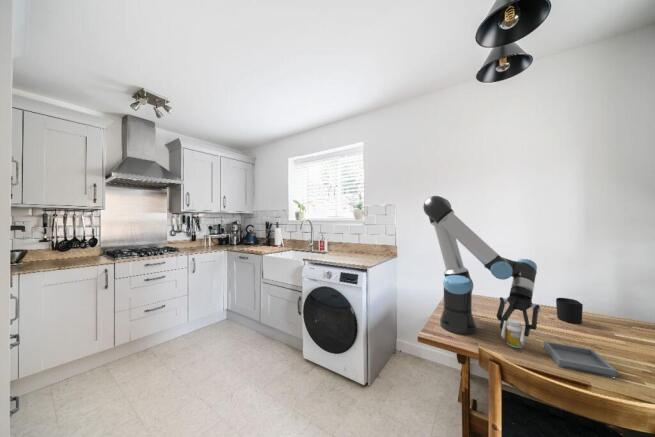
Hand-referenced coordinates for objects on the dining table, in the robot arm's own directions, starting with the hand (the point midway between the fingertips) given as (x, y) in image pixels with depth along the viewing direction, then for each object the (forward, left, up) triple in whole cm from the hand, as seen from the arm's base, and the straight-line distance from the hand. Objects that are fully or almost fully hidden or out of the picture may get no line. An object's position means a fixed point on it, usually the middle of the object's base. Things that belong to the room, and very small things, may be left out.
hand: (512, 339), depth 93 cm
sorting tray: (+18, -1, -3) cm, 19 cm away
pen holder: (+32, +44, -4) cm, 55 cm away
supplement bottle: (+1, +3, -4) cm, 5 cm away
